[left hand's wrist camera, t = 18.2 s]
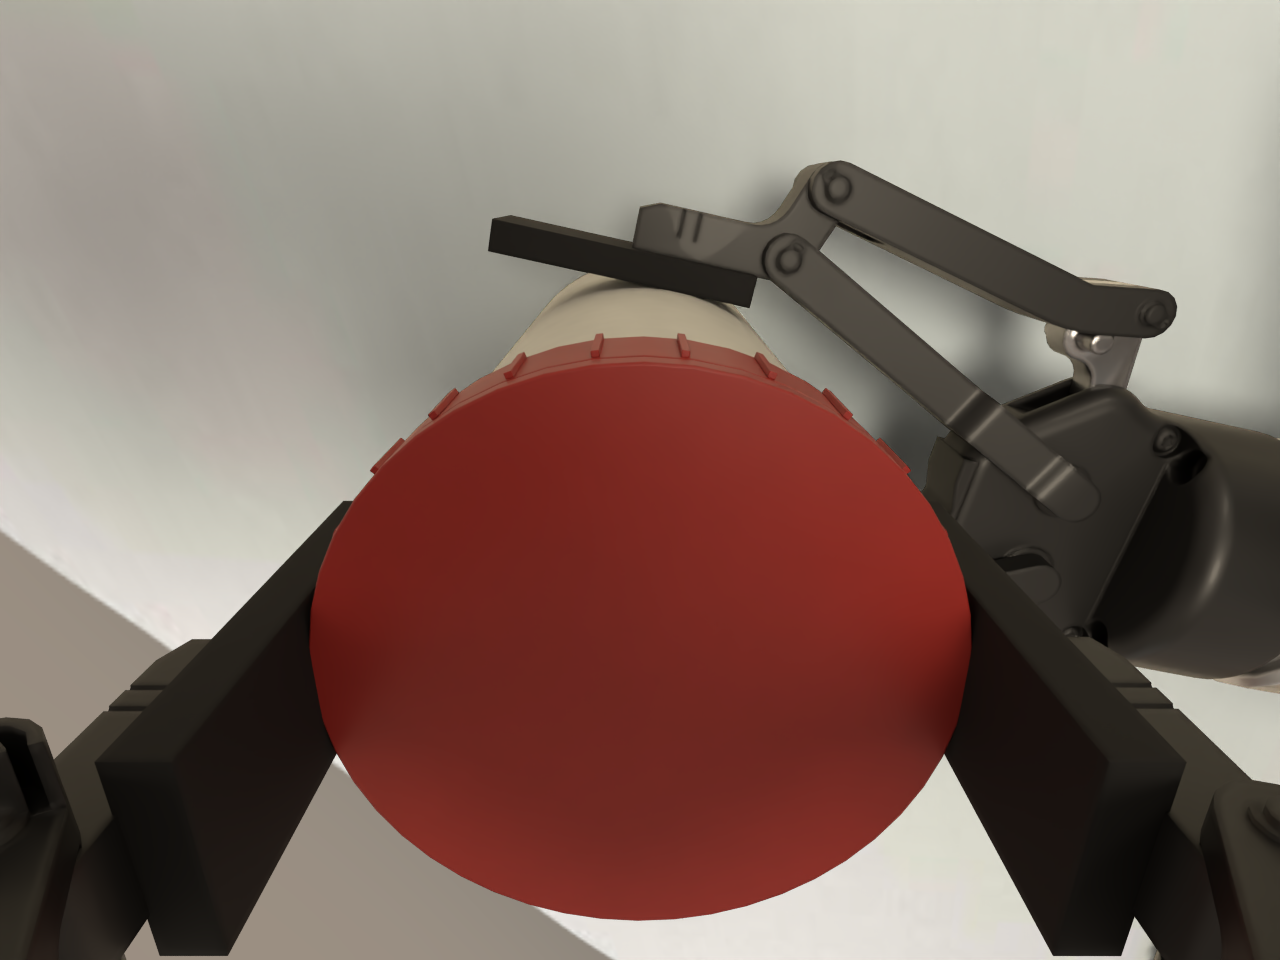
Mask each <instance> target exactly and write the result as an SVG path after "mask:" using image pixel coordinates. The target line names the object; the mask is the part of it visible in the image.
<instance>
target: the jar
mask: <svg viewBox="0 0 1280 960" xmlns="http://www.w3.org/2000/svg"><path fill="white" fill-rule="evenodd" d="M600 333H603V335H604V338H622V337H640V336H646V337H660V338H673V339H677V334H678V333H681V334H685V336H686V339H687V340H691V341H696V342H701V343H706V344H710V345H715V346H720V347H725V348H729V349H732V350H735V351H738V352H741V353H744V354H746V355H749V356H752V357H754V356H755V354H756V352H759V353H761V354H763V355H764V356H765V357H766V359H767V360H768V361H769V363H771V364H773V365H775V366H777V367H779V368H781V369H783V370H785V371H786V372H788V371H787V370H786V369H785V368H784V366H783V365H782V364H781V363H780V361H779V360H778V359H777V358H776V357H775V355H774V354H773V353H772V352H771V350H770V349H769V348H768V347H767V345H766V344H765V343H764V342H763V341H762V339H761V338H760V337H759V336H758V334H757V333H756V332H755V331H754V330H753V328H752V327H751V326H750V325H749V323H748V322H747V321H746V320H745V319H744V317H743V316H742V315H741V314H740V312H739V311H738V310H737V309H736V308H735V306H734V305H733V304H728V303H724V302H719V301H715V300H710V299H705V298H701V297H696V296H692V295H687V294H682V293H678V292H673V291H669V290H664V289H660V288H655V287H650V286H646V285H641V284H637V283H632V282H627V281H623V280H618V279H614V278H609V277H605V276H600V275H595V274H591V273H588V274H586V275H584V276H582V277H580V278H578V279H577V280H575V281H574V282H572V283H571V284H569V285H568V286H566V287H565V288H564V289H563V290H562V291H561V292H559V293H558V294H557V295H556V296H555V297H554V298H553V299H552V300H551V301H550V302H549V304H548V305H547V306H546V307H545V308H544V309H543V311H542V312H541V313H540V314H539V316H538V317H537V318H536V319H535V320H534V322H533V323H532V324H531V325H530V327H529V328H528V329H527V330H526V331H525V333H524V334H523V335H522V336H521V338H520V339H519V340H518V341H517V343H516V344H515V345H514V346H513V347H512V349H511V350H510V351H509V352H508V354H507V355H506V356H505V357H504V358H503V360H502V361H501V362H500V363H499V365H498V366H497V367H496V368H495V370H494V371H496V370H498V369H500V368H503V367H505V366H507V365H509V364H511V363H512V361H513V360H514V359H515V357H516V356H517V355H518V354H520V353H522V352H525V354H526V357H528V356H532V355H535V354H538V353H541V352H544V351H547V350H550V349H553V348H556V347H559V346H564V345H570V344H575V343H580V342H586V341H591V340H594V338H595V335H596V334H600ZM494 371H493V372H494ZM788 373H789V372H788Z"/></svg>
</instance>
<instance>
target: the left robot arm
mask: <svg viewBox="0 0 1280 960" xmlns="http://www.w3.org/2000/svg"><path fill="white" fill-rule="evenodd" d="M352 502H353V501H343V502H342V503H341V504H340V505H339V506H338V507H337V508H336V509H335V510H334V511H333V513H332V514H331V515H330V516H329V517H328V518H327V519H326V520H325V521H324V522H323V523H322V524H321V525H320V526H319V527H318V528H317V529H316V530H315V531H314V532H313V533H312V535H311V536H310V537H309V538H308V539H307V540H306V541H305V542H304V543H303V544H302V545H301V546H300V547H299V548H298V549H297V550H296V551H295V552H294V553H293V554H292V555H291V557H290V558H289V559H288V560H287V561H286V562H285V563H284V564H283V565H282V566H281V567H280V568H279V569H278V570H277V571H276V572H275V573H274V574H273V575H272V576H271V577H270V579H269V580H268V581H267V582H266V583H265V584H264V585H263V586H262V587H261V588H260V589H259V590H258V591H257V592H256V593H255V594H254V595H253V596H252V597H251V598H250V599H249V601H248V602H247V603H246V604H245V605H244V606H243V607H242V608H241V609H240V610H239V611H238V612H237V613H236V614H235V615H234V616H233V617H232V618H231V619H230V620H229V621H228V622H227V624H226V625H225V626H224V627H223V628H222V629H221V630H220V631H219V632H218V633H217V634H216V635H215V636H214V637H213V638H212V639H192V640H190V641H188V642H187V643H185V644H183V645H182V646H180V647H178V648H176V649H175V650H173V651H171V652H170V653H168V654H166V655H165V656H163V657H161V658H159V659H158V660H156V661H155V662H154V663H153V664H152V665H151V666H150V667H149V668H148V669H147V670H146V671H145V672H144V673H143V674H142V675H141V676H140V677H139V678H137V679H136V680H135V681H134V682H133V683H132V684H131V688H130V690H125V691H124V692H123V693H122V694H121V695H120V696H119V697H118V698H117V699H116V700H115V701H114V702H113V703H112V704H111V705H110V706H109V711H104V712H103V713H101V714H100V715H99V716H98V717H97V718H96V719H95V720H94V721H93V722H92V723H91V724H90V725H89V726H88V727H87V728H86V729H85V730H84V731H83V732H82V733H81V734H80V735H79V736H78V737H77V738H76V739H75V740H74V741H73V742H72V743H71V744H70V745H68V746H67V747H66V748H65V749H64V750H63V751H62V752H61V753H60V754H59V755H58V756H57V757H56V758H55V759H53V756H52V754H51V751H50V748H49V745H48V743H47V740H46V737H45V734H44V732H43V729H42V727H40V726H39V725H37V724H36V723H34V722H33V721H31V720H29V719H19V718H7V717H6V718H0V960H126V957H125V955H124V953H125V951H126V950H127V948H128V947H129V945H130V944H131V942H132V941H133V939H134V938H135V936H136V935H137V933H138V932H139V930H140V929H141V927H142V926H143V925H144V923H145V922H146V920H147V919H148V922H149V925H150V928H151V931H152V934H153V937H154V940H155V943H156V946H157V949H158V952H159V955H160V956H228V954H229V953H230V951H231V949H232V947H233V945H234V943H235V941H236V939H237V938H238V936H239V934H240V932H241V930H242V928H243V926H244V925H245V923H246V921H247V919H248V917H249V915H250V913H251V912H252V910H253V908H254V906H255V904H256V902H257V901H258V899H259V897H260V895H261V893H262V891H263V889H264V888H265V886H266V884H267V882H268V880H269V878H270V876H271V875H272V873H273V871H274V869H275V867H276V865H277V863H278V861H279V860H280V858H281V856H282V854H283V852H284V850H285V848H286V847H287V845H288V843H289V841H290V839H291V837H292V836H293V834H294V832H295V830H296V828H297V826H298V824H299V823H300V821H301V819H302V817H303V815H304V813H305V811H306V810H307V808H308V806H309V804H310V802H311V800H312V798H313V796H314V795H315V793H316V791H317V789H318V787H319V785H320V784H321V782H322V780H323V778H324V776H325V774H326V772H327V770H328V769H329V767H330V765H331V763H332V761H333V759H334V758H335V756H336V754H337V753H336V751H335V749H334V747H333V744H332V742H331V740H330V737H329V735H328V732H327V730H326V728H325V725H324V722H323V718H322V713H321V708H320V703H319V698H318V693H317V688H316V682H315V677H314V672H313V667H312V661H311V655H310V649H309V634H310V616H311V606H312V601H313V597H314V592H315V588H316V583H317V578H318V574H319V570H320V568H321V565H322V563H323V560H324V557H325V555H326V552H327V550H328V547H329V545H330V542H331V540H332V537H333V533H334V530H335V529H336V528H337V527H338V526H339V524H340V523H341V521H342V519H343V518H344V516H345V514H346V512H347V511H348V509H349V507H350V506H351V504H352ZM928 502H929V504H930V505H931V507H932V509H933V510H934V512H935V514H936V516H937V518H938V519H939V521H940V523H941V525H942V526H943V527H944V528H945V529H946V531H947V533H948V537H949V539H950V541H951V544H952V547H953V550H954V552H955V555H956V558H957V561H958V563H959V566H960V569H961V571H962V574H963V577H964V582H965V587H966V592H967V598H968V603H969V608H970V613H971V639H972V649H971V655H970V661H969V666H968V672H967V677H966V682H965V687H964V693H963V698H962V703H961V708H960V713H959V717H958V722H957V726H956V728H955V730H954V733H953V735H952V737H951V739H950V742H949V744H948V746H947V748H946V750H945V753H944V754H945V756H946V758H947V760H948V762H949V764H950V765H951V767H952V769H953V771H954V773H955V775H956V777H957V778H958V780H959V782H960V784H961V786H962V788H963V790H964V791H965V793H966V795H967V797H968V799H969V801H970V803H971V804H972V806H973V808H974V810H975V812H976V814H977V815H978V817H979V819H980V821H981V823H982V825H983V827H984V828H985V830H986V832H987V834H988V836H989V838H990V840H991V841H992V843H993V845H994V847H995V849H996V851H997V853H998V854H999V856H1000V858H1001V860H1002V862H1003V864H1004V866H1005V867H1006V869H1007V871H1008V873H1009V875H1010V877H1011V879H1012V880H1013V882H1014V884H1015V886H1016V888H1017V890H1018V892H1019V893H1020V895H1021V897H1022V899H1023V901H1024V903H1025V905H1026V906H1027V908H1028V910H1029V912H1030V914H1031V916H1032V918H1033V919H1034V921H1035V923H1036V925H1037V927H1038V929H1039V931H1040V932H1041V934H1042V936H1043V938H1044V940H1045V942H1046V944H1047V945H1048V947H1049V949H1050V951H1051V953H1052V955H1053V956H1121V955H1122V952H1123V949H1124V946H1125V943H1126V940H1127V937H1128V934H1129V931H1130V928H1131V925H1132V922H1133V919H1134V916H1135V918H1136V919H1137V921H1138V922H1139V924H1140V925H1141V927H1142V928H1143V929H1144V931H1145V932H1146V934H1147V935H1148V937H1149V938H1150V940H1151V941H1152V943H1153V944H1154V946H1155V947H1156V949H1157V952H1156V955H1155V957H1154V960H1280V785H1278V784H1272V783H1266V782H1261V781H1255V780H1252V779H1251V778H1250V777H1248V776H1247V775H1246V774H1245V773H1244V772H1243V771H1242V770H1241V769H1240V768H1239V767H1238V766H1237V765H1236V764H1235V763H1234V762H1233V761H1232V760H1231V759H1230V758H1229V757H1228V756H1227V755H1226V754H1225V753H1224V752H1223V751H1222V750H1220V749H1219V748H1218V747H1217V746H1216V745H1215V744H1214V743H1213V742H1212V741H1211V740H1210V739H1209V738H1208V737H1207V736H1206V735H1205V734H1204V733H1203V732H1202V731H1201V730H1200V729H1199V728H1198V727H1197V726H1196V725H1195V724H1194V723H1192V722H1191V721H1190V720H1189V719H1188V718H1187V717H1186V716H1185V715H1184V714H1183V713H1182V712H1181V711H1180V710H1179V709H1174V708H1173V703H1172V702H1171V701H1170V700H1169V699H1168V698H1167V697H1166V696H1164V695H1163V694H1162V693H1161V692H1160V691H1159V690H1158V689H1157V688H1152V686H1151V682H1150V681H1149V680H1148V679H1147V678H1146V677H1145V676H1144V675H1143V674H1142V673H1141V672H1140V671H1139V670H1138V669H1136V668H1135V667H1134V666H1133V665H1132V664H1131V663H1130V662H1129V661H1128V660H1127V659H1126V658H1125V657H1123V656H1121V655H1120V654H1118V653H1116V652H1114V651H1113V650H1111V649H1109V648H1108V647H1106V646H1104V645H1102V644H1101V643H1099V642H1097V641H1095V640H1094V639H1092V638H1090V637H1067V636H1066V635H1065V634H1064V633H1063V632H1062V631H1061V630H1060V629H1059V628H1058V627H1057V626H1056V625H1055V624H1054V623H1053V622H1052V621H1051V619H1050V618H1049V617H1048V616H1047V615H1046V614H1045V613H1044V612H1043V611H1042V610H1041V609H1040V608H1039V607H1038V606H1037V605H1036V604H1035V603H1034V602H1033V601H1032V600H1031V599H1030V598H1029V596H1028V595H1027V594H1026V593H1025V592H1024V591H1023V590H1022V589H1021V588H1020V587H1019V586H1018V585H1017V584H1016V583H1015V582H1014V581H1013V580H1012V579H1011V578H1010V577H1009V576H1008V574H1007V573H1006V572H1005V571H1004V570H1003V569H1002V568H1001V567H1000V566H999V565H998V564H997V563H996V562H995V561H994V560H993V559H992V558H991V557H990V556H989V555H988V554H987V552H986V551H985V550H984V549H983V548H982V547H981V546H980V545H979V544H978V543H977V542H976V541H975V540H974V539H973V538H972V537H971V536H970V535H969V534H968V533H967V532H966V531H965V529H964V528H963V527H962V526H961V525H960V524H959V523H958V522H957V521H956V520H955V519H954V518H953V517H952V516H951V515H950V514H949V513H948V512H947V511H946V510H945V509H944V507H943V506H942V505H941V504H940V503H939V502H938V501H928Z"/></svg>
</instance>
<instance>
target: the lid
mask: <svg viewBox="0 0 1280 960" xmlns="http://www.w3.org/2000/svg"><path fill="white" fill-rule="evenodd" d="M428 416H429V418H428V419H426V420H425V421H424V422H423V423H422V424H421V425H420V426H419V427H418V428H417V429H416V430H415V431H414V432H413V433H412V434H411V435H410V436H409V437H408V438H407V439H406V440H403V439H402V438H400V439H399V440H398V441H397V442H396V443H395V444H394V445H393V446H392V447H391V448H390V449H389V451H388V452H387V453H386V454H385V455H384V456H383V457H382V458H381V459H380V460H379V461H378V462H377V463H376V464H375V465H374V466H373V467H372V469H371V470H370V471H371V472H372V473H373V474H374V476H373V477H372V478H371V479H370V481H369V482H368V483H367V484H366V485H365V487H364V488H363V489H362V490H361V492H360V493H359V494H358V495H357V496H356V498H355V499H354V501H353V502H352V504H351V506H350V507H349V509H348V511H347V512H346V514H345V516H344V518H343V519H342V521H341V523H340V524H339V526H338V527H337V528H336V529H335V530H334V533H333V537H332V540H331V542H330V545H329V547H328V550H327V552H326V555H325V557H324V560H323V563H322V565H321V568H320V570H319V574H318V578H317V583H316V588H315V592H314V597H313V601H312V606H311V616H310V634H309V649H310V655H311V661H312V667H313V672H314V677H315V682H316V688H317V693H318V698H319V703H320V708H321V713H322V718H323V722H324V725H325V728H326V730H327V732H328V735H329V737H330V740H331V742H332V744H333V747H334V749H335V751H336V753H337V755H338V756H339V758H340V760H341V761H342V763H343V765H344V766H345V768H346V770H347V771H348V773H349V775H350V776H351V778H352V780H353V781H354V783H355V784H356V785H357V787H358V788H359V789H360V791H361V792H362V793H363V794H364V796H365V797H366V798H367V799H368V801H369V802H370V803H371V804H372V806H373V807H374V808H375V809H376V811H377V812H378V813H380V815H382V816H383V817H384V818H385V819H386V820H387V821H388V822H389V823H390V824H391V825H392V826H393V827H394V828H395V829H396V830H397V831H398V832H399V833H400V834H401V835H402V836H403V837H404V838H406V839H407V840H409V841H410V842H411V843H412V844H414V845H415V846H416V847H417V848H419V849H420V850H421V851H423V852H424V853H425V854H426V855H428V856H429V857H430V858H432V859H434V860H435V861H437V862H438V863H440V864H442V865H443V866H445V867H447V868H448V869H450V870H452V871H453V872H455V873H457V874H458V875H460V876H461V877H464V878H466V879H468V880H470V881H472V882H474V883H476V884H478V885H480V886H482V887H485V888H487V889H489V890H491V891H493V892H496V893H498V894H501V895H504V896H507V897H510V898H512V899H515V900H518V901H521V902H524V903H526V904H529V905H533V906H537V907H541V908H545V909H549V910H553V911H557V912H562V913H566V914H573V915H580V916H586V917H593V918H600V919H617V920H635V921H641V920H667V919H680V918H687V917H694V916H702V915H709V914H714V913H719V912H723V911H727V910H732V909H736V908H740V907H744V906H748V905H751V904H754V903H757V902H760V901H763V900H766V899H769V898H772V897H775V896H778V895H781V894H783V893H785V892H787V891H790V890H792V889H794V888H796V887H798V886H801V885H803V884H805V883H807V882H809V881H812V880H814V879H816V878H817V877H819V876H821V875H822V874H824V873H826V872H828V871H829V870H831V869H833V868H834V867H836V866H838V865H839V864H841V863H843V862H845V861H846V860H848V859H849V858H850V857H852V856H853V855H854V854H856V853H857V852H858V851H860V850H861V849H862V848H864V847H865V846H866V845H868V844H869V843H870V842H872V841H873V840H874V839H876V838H877V837H878V836H879V835H880V834H881V833H882V832H883V831H884V830H885V829H886V828H887V827H888V826H889V825H890V824H891V823H892V822H893V821H895V820H896V819H897V818H898V817H899V816H900V815H901V814H902V813H903V811H904V810H905V809H906V808H907V807H908V805H909V804H910V803H911V802H912V800H913V799H914V798H915V797H916V796H917V794H918V793H919V792H920V791H921V790H922V788H923V787H924V786H925V784H926V782H927V781H928V779H929V778H930V776H931V775H932V773H933V771H934V770H935V768H936V767H937V765H938V763H939V762H940V760H941V759H942V757H943V755H944V753H945V750H946V748H947V746H948V744H949V742H950V739H951V737H952V735H953V733H954V730H955V728H956V726H957V722H958V717H959V713H960V708H961V703H962V698H963V693H964V687H965V682H966V677H967V672H968V666H969V661H970V655H971V649H972V639H971V613H970V608H969V603H968V598H967V592H966V587H965V582H964V577H963V574H962V571H961V569H960V566H959V563H958V561H957V558H956V555H955V552H954V550H953V547H952V544H951V541H950V539H949V537H948V533H947V531H946V529H945V528H944V527H943V526H942V525H941V523H940V521H939V519H938V518H937V516H936V514H935V512H934V510H933V509H932V507H931V505H930V504H929V502H928V501H927V500H926V498H925V497H924V496H923V495H922V493H921V492H920V491H919V489H918V488H917V487H916V486H915V484H914V483H913V482H912V480H911V479H910V478H909V477H908V475H907V473H909V472H910V471H911V470H910V469H909V467H908V466H907V465H906V464H905V463H904V462H903V461H902V460H901V459H900V458H899V457H898V456H897V455H896V454H895V453H894V452H893V451H892V450H891V449H890V448H889V447H888V445H887V444H886V443H885V442H884V441H883V440H882V439H881V438H879V439H878V440H876V441H875V440H874V438H873V437H872V436H871V435H870V434H869V433H868V432H867V431H866V430H865V429H864V428H863V427H862V426H861V425H860V424H859V423H857V422H856V421H855V420H854V419H853V418H852V416H853V414H852V413H851V412H850V411H849V410H848V409H847V408H846V407H845V406H844V405H843V404H842V403H841V402H840V401H839V400H838V398H837V397H836V396H835V395H834V394H833V393H832V392H831V391H829V390H828V389H827V388H825V389H824V391H823V392H822V393H821V392H820V391H819V390H817V389H816V388H814V387H813V386H812V385H810V384H809V383H807V382H806V381H804V380H802V379H800V378H798V377H796V376H794V375H792V374H790V373H788V372H786V371H785V370H783V369H781V368H779V367H777V366H775V365H773V364H771V363H769V361H768V360H767V359H766V357H765V356H764V355H763V354H761V353H759V352H756V354H755V356H754V357H752V356H749V355H746V354H744V353H741V352H738V351H735V350H732V349H729V348H725V347H720V346H715V345H710V344H706V343H701V342H696V341H691V340H687V339H686V336H685V334H681V333H678V334H677V339H673V338H660V337H646V336H640V337H622V338H604V335H603V333H600V334H596V335H595V338H594V340H591V341H586V342H580V343H575V344H570V345H564V346H559V347H556V348H553V349H550V350H547V351H544V352H541V353H538V354H535V355H532V356H528V357H526V354H525V352H522V353H520V354H518V355H517V356H516V357H515V359H514V360H513V361H512V363H511V364H509V365H507V366H505V367H503V368H500V369H498V370H496V371H494V372H492V373H490V374H488V375H486V376H484V377H482V378H480V379H479V380H477V381H476V382H474V383H473V384H471V385H470V386H468V387H467V388H465V389H464V390H462V391H461V392H458V391H457V390H456V388H454V389H453V390H452V391H450V392H449V393H448V394H447V395H446V396H445V397H444V398H443V399H442V401H441V402H440V403H439V404H438V405H437V406H436V407H435V408H434V409H433V410H432V411H431V412H430V413H429V414H428Z"/></svg>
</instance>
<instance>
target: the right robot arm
mask: <svg viewBox="0 0 1280 960" xmlns="http://www.w3.org/2000/svg"><path fill="white" fill-rule="evenodd" d="M836 226H837V227H839V228H841V229H843V230H845V231H847V232H849V233H851V234H853V235H855V236H857V237H860V238H862V239H864V240H866V241H868V242H870V243H872V244H874V245H876V246H878V247H880V248H882V249H884V250H886V251H888V252H890V253H892V254H894V255H897V256H899V257H901V258H903V259H905V260H907V261H909V262H911V263H913V264H915V265H917V266H919V267H921V268H923V269H925V270H927V271H929V272H932V273H934V274H936V275H938V276H940V277H942V278H944V279H946V280H948V281H950V282H952V283H954V284H956V285H958V286H960V287H962V288H964V289H966V290H969V291H971V292H973V293H975V294H977V295H979V296H981V297H983V298H985V299H987V300H989V301H991V302H993V303H995V304H997V305H999V306H1001V307H1003V308H1006V309H1008V310H1011V311H1013V312H1016V313H1018V314H1021V315H1024V316H1027V317H1030V318H1033V319H1036V320H1039V321H1043V322H1046V325H1045V329H1044V332H1045V334H1046V340H1047V343H1048V345H1049V347H1050V348H1051V349H1052V350H1053V351H1055V352H1057V353H1060V354H1062V355H1065V356H1067V357H1068V358H1069V359H1070V360H1071V362H1072V364H1073V369H1074V373H1073V377H1071V378H1068V379H1065V380H1063V381H1060V382H1058V383H1055V384H1053V385H1050V386H1048V387H1045V388H1043V389H1040V390H1038V391H1035V392H1033V393H1030V394H1028V395H1025V396H1023V397H1020V398H1017V399H1015V400H1012V401H1010V402H1007V403H1005V404H1002V405H1000V404H999V403H998V402H997V401H995V400H994V399H993V398H991V397H990V396H989V395H987V394H986V393H984V392H983V391H982V390H981V389H979V388H978V387H977V386H976V385H975V384H974V383H972V382H971V381H970V380H969V379H968V378H967V377H965V376H964V375H963V374H962V373H961V372H960V371H958V370H957V369H956V368H955V367H954V366H953V365H951V364H950V363H949V362H948V361H947V360H946V359H944V358H943V357H942V356H941V355H940V354H939V353H938V352H936V351H935V350H934V349H933V348H932V347H931V346H929V345H928V344H927V343H926V342H925V341H924V340H922V339H921V338H920V337H919V336H918V335H917V334H915V333H914V332H913V331H912V330H911V329H910V328H908V327H907V326H906V325H905V324H904V323H903V322H901V321H900V320H899V319H898V318H897V317H896V316H894V315H893V314H892V313H891V312H890V311H889V310H887V309H886V308H885V307H884V306H883V305H882V304H881V303H879V302H878V301H877V300H876V299H875V298H874V297H872V296H871V295H870V294H869V293H868V292H867V291H865V290H864V289H863V288H862V287H861V286H860V285H858V284H857V283H856V282H855V281H854V280H853V279H851V278H850V277H849V276H848V275H847V274H846V273H844V272H843V271H842V270H841V269H840V268H839V267H837V266H836V265H835V264H834V263H833V262H832V261H830V260H829V259H828V258H827V257H826V256H825V255H824V254H822V253H821V252H820V251H819V250H820V249H821V247H822V246H823V244H824V243H825V241H826V240H827V238H828V237H829V235H830V234H831V233H832V231H833V230H834V228H835V227H836ZM488 251H490V252H494V253H499V254H504V255H508V256H513V257H517V258H522V259H527V260H531V261H536V262H540V263H545V264H549V265H554V266H559V267H563V268H568V269H572V270H577V271H582V272H586V273H591V274H595V275H600V276H605V277H609V278H614V279H618V280H623V281H627V282H632V283H637V284H641V285H646V286H650V287H655V288H660V289H664V290H669V291H673V292H678V293H682V294H687V295H692V296H696V297H701V298H705V299H710V300H715V301H719V302H724V303H728V304H733V305H737V306H742V307H747V308H750V304H751V300H752V296H753V293H754V289H755V285H756V281H757V277H758V278H762V279H767V280H771V281H772V282H773V283H774V284H776V285H777V286H778V287H779V288H780V289H782V290H783V291H784V292H785V293H786V294H788V295H789V296H790V297H791V298H792V299H794V300H795V301H796V302H797V303H798V304H800V305H801V306H802V307H803V308H804V309H806V310H807V311H808V312H809V313H810V314H812V315H813V316H814V317H815V318H816V319H818V320H819V321H820V322H821V323H822V324H824V325H825V326H826V327H827V328H829V329H830V330H831V331H832V332H833V333H835V334H836V335H837V336H838V337H839V338H841V339H842V340H843V341H844V342H845V343H847V344H848V345H849V346H850V347H851V348H853V349H854V350H855V351H856V352H857V353H859V354H860V355H861V356H862V357H863V358H865V359H866V360H867V361H868V362H869V363H871V364H872V365H873V366H874V367H875V368H877V369H878V370H879V371H880V372H881V373H883V374H884V375H885V376H886V377H887V378H889V379H890V380H891V381H892V382H893V383H895V384H896V385H897V386H898V387H899V388H901V389H902V390H903V391H904V392H905V393H907V394H908V395H909V396H910V397H912V398H913V399H914V400H915V401H916V402H917V403H918V404H920V405H921V406H922V407H923V408H924V409H925V410H927V411H928V412H929V413H930V414H931V415H933V416H934V417H935V418H936V419H938V420H939V421H940V422H941V423H942V424H944V425H945V426H946V427H947V428H948V429H950V430H951V432H950V433H949V434H948V435H947V436H946V438H942V437H937V439H936V442H935V444H934V447H933V450H932V452H931V455H930V458H929V461H928V472H927V482H926V486H925V488H924V489H923V491H922V492H921V493H922V495H923V496H924V497H925V498H926V500H927V501H938V502H939V503H940V504H941V505H942V506H943V507H944V509H945V510H946V511H947V512H948V513H949V514H950V515H951V516H952V517H953V518H954V519H955V520H956V521H957V522H958V523H959V524H960V525H961V526H962V527H963V528H964V529H965V531H966V532H967V533H968V534H969V535H970V536H971V537H972V538H973V539H974V540H975V541H976V542H977V543H978V544H979V545H980V546H981V547H982V548H983V549H984V550H985V551H986V552H987V554H988V555H989V556H990V557H991V558H992V559H993V560H994V561H995V562H996V563H997V564H998V565H999V566H1000V567H1001V568H1002V569H1003V570H1004V571H1005V572H1006V573H1007V574H1008V576H1009V577H1010V578H1011V579H1012V580H1013V581H1014V582H1015V583H1016V584H1017V585H1018V586H1019V587H1020V588H1021V589H1022V590H1023V591H1024V592H1025V593H1026V594H1027V595H1028V596H1029V598H1030V599H1031V600H1032V601H1033V602H1034V603H1035V604H1036V605H1037V606H1038V607H1039V608H1040V609H1041V610H1042V611H1043V612H1044V613H1045V614H1046V615H1047V616H1048V617H1049V618H1050V619H1051V621H1052V622H1053V623H1054V624H1055V625H1056V626H1057V627H1058V628H1059V629H1060V630H1061V631H1062V632H1063V633H1064V634H1065V635H1066V636H1067V637H1090V638H1092V639H1094V640H1095V641H1097V642H1099V643H1101V644H1102V645H1104V646H1106V647H1108V648H1109V649H1111V650H1113V651H1114V652H1116V653H1118V654H1120V655H1121V656H1123V657H1125V658H1126V659H1127V660H1128V661H1129V662H1130V663H1131V664H1132V665H1133V666H1135V667H1141V668H1146V669H1151V670H1157V671H1162V672H1167V673H1173V674H1178V675H1183V676H1189V677H1194V678H1202V679H1213V680H1215V681H1218V682H1222V683H1227V684H1231V685H1236V686H1240V687H1244V688H1250V689H1255V690H1261V691H1267V692H1273V693H1278V694H1280V438H1274V437H1272V436H1270V435H1267V434H1263V433H1260V432H1257V431H1252V430H1248V429H1243V428H1238V427H1234V426H1229V425H1224V424H1220V423H1215V422H1211V421H1206V420H1201V419H1197V418H1192V417H1187V416H1183V415H1178V414H1173V413H1169V412H1164V411H1159V410H1155V409H1150V408H1146V407H1145V406H1144V405H1143V404H1142V403H1141V402H1140V401H1139V400H1138V398H1137V397H1136V396H1135V395H1134V394H1132V393H1131V392H1130V391H1128V390H1126V388H1127V385H1128V382H1129V379H1130V375H1131V372H1132V369H1133V366H1134V363H1135V359H1136V356H1137V353H1138V350H1139V347H1140V343H1141V340H1142V338H1151V337H1155V336H1157V335H1159V334H1161V333H1163V332H1164V331H1165V330H1166V329H1167V328H1169V327H1170V326H1171V324H1172V322H1173V320H1174V318H1175V317H1176V311H1177V305H1176V301H1175V298H1174V297H1173V296H1172V295H1171V294H1170V293H1169V292H1166V291H1163V290H1159V289H1154V288H1148V287H1143V286H1138V285H1133V284H1127V283H1122V282H1117V281H1112V280H1106V279H1097V278H1083V277H1076V276H1074V275H1072V274H1070V273H1068V272H1066V271H1064V270H1062V269H1060V268H1058V267H1056V266H1054V265H1052V264H1050V263H1048V262H1046V261H1044V260H1042V259H1040V258H1038V257H1036V256H1034V255H1033V254H1031V253H1029V252H1027V251H1025V250H1023V249H1021V248H1019V247H1017V246H1015V245H1013V244H1011V243H1009V242H1007V241H1005V240H1003V239H1001V238H999V237H997V236H995V235H993V234H991V233H989V232H987V231H985V230H983V229H981V228H979V227H977V226H975V225H973V224H971V223H969V222H967V221H965V220H963V219H961V218H959V217H957V216H955V215H953V214H951V213H949V212H947V211H945V210H943V209H941V208H939V207H937V206H935V205H933V204H931V203H929V202H927V201H925V200H923V199H921V198H919V197H917V196H915V195H913V194H911V193H909V192H907V191H905V190H903V189H901V188H899V187H897V186H895V185H893V184H891V183H889V182H887V181H885V180H883V179H881V178H879V177H877V176H875V175H873V174H871V173H869V172H867V171H865V170H863V169H861V168H859V167H857V166H855V165H853V164H851V163H848V162H844V161H834V162H825V163H819V164H815V165H810V166H807V167H806V168H804V169H803V170H801V171H800V173H799V174H798V175H797V177H796V178H795V181H794V184H793V188H792V189H791V191H790V192H789V194H788V195H787V197H786V198H785V200H784V202H783V203H782V205H781V206H780V208H779V209H778V210H777V211H776V213H775V214H774V215H772V216H771V217H770V218H768V219H766V220H764V221H762V222H756V223H749V222H743V221H739V220H734V219H730V218H726V217H721V216H717V215H712V214H708V213H704V212H699V211H695V210H690V209H686V208H681V207H677V206H673V205H668V204H664V203H656V204H651V205H645V206H640V209H639V214H638V219H637V224H636V229H635V234H634V239H633V242H629V241H624V240H620V239H615V238H611V237H606V236H602V235H597V234H593V233H588V232H584V231H579V230H575V229H570V228H566V227H561V226H557V225H552V224H548V223H543V222H539V221H534V220H530V219H525V218H521V217H516V216H512V215H510V216H504V217H499V218H494V219H492V225H491V232H490V240H489V248H488Z"/></svg>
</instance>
